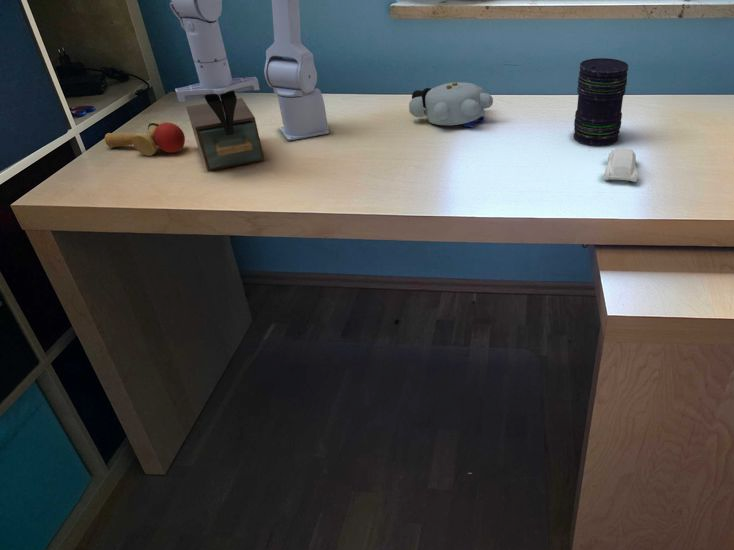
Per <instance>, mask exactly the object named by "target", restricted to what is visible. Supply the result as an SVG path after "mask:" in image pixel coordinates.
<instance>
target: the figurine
mask: <svg viewBox="0 0 734 550" xmlns="http://www.w3.org/2000/svg"><path fill="white" fill-rule="evenodd" d="M493 104H494V98H493V97H492V95H491V94H489V93H486V92H485V89H484V88H482V87H481V86H479V85H477V84H475V83H471V82H464V81H463V82H461V81H459V82H458V81H453V82H447V83H444V84H440V85H437V86H435V87H433V88H431V87H426V88H424V89H423V90H420V89H416V90H414V91H413V92H412V95H411V100H410V101H409V103H408V109H409V113H410V115H411V116H413V117H415V118H424V117H425V114H426V118H427V121H428V122H429V123H430V124H433V125H438V126H457V125H462V126H463V127H465V128H466V127H467V128H472V127H473V126H474V124H475V123H477V122H484V121H485V116H484V113H485V109H490V108H491V107H492V106H493Z"/></svg>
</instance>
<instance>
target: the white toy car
mask: <svg viewBox="0 0 734 550" xmlns="http://www.w3.org/2000/svg"><path fill="white" fill-rule="evenodd" d="M636 161H637V155H636V153H635V152H634V149H631V148H626V147H622V148H621V147H617V148H614V149H611V151H610V152H609V153H608V156H607V165H606V167H605V171H604V175H603V176H604V181H610V180H614V181H615V180H621V181H627V182H628V181H629V182H632V183H637V182H638V178H639V169H638V167H637V166H636Z"/></svg>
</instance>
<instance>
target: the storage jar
mask: <svg viewBox="0 0 734 550" xmlns="http://www.w3.org/2000/svg"><path fill="white" fill-rule="evenodd" d="M628 71H629V64H628V63H627V62H626V61H623V60H620V59H616V58H607V57H599V58H598V57H597V58H590V59H585V60H582V61H581V62H580V63H579V73H578V78H577V94H578V95H577V106H576V110H575V113H574V121H573V130H574V133H573V140H574V141H575V142H576V143H578V144H580V145H584V146H589V147H608V146H613V145H614V144H616V143H618V141H619V139H620V138H619V137H620V136H619V134H620V130H621V128H622V118H623V113H622V109H623V100H624V97H625V94H626V92H627V90H626V89H627V88H626V87H627V83H628Z"/></svg>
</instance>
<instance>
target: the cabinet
mask: <svg viewBox="0 0 734 550" xmlns="http://www.w3.org/2000/svg"><path fill="white" fill-rule="evenodd" d="M221 102H222V101H221ZM185 108H186V111H187V115H188V118H189V122H190V125H191V128H192V132H193V135H194V139H195V143H196V145H197V149H198V152H199V153H200V156H201V158H202V159H201V160H202V161H203V163H204V166H205V168H206V171H207V172H210V171H215V170H220V169H226V168H232V167H237V166H242V165H246V164H252V163H258V162H263V161H265V156H264V152H263V148H262V147H263V146H262V144H261V138H260V134H259V130H258V126H257V125H258V124H257V120H256V117H255V115H254V114H253V112H252V111H251V109H250V108H249V106H248V105H247V103H246V102H245V100H244V99H243V97H239V98H237V103H236V106H235V111H234V119H233V124H238V123H244V122H249V123H250V122H253V123H254V127H255V131H256V135H257V140H258V144H259V148H260V153H261V157H262V159H258V160H253V161H248V162H243V163H237V164H232V165H227V166H221V167H216V168H210V166H209V163H208V159H207V156H206V152H205V149H204V145H203V142H202V138H201V135H200V130H202V129H208V128H214V127H220V126H223V125H222V123H221V121H220V120H219V118H218V117H217V115H216V114H215V112H214V111H213V110H212V108H211V107H210V106H209V105H208V103H207V102H206V103H199V104H194V105H187V106H186V107H185ZM223 110H224V109H223ZM224 114H225V112H224ZM225 119H226V117H225Z"/></svg>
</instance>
